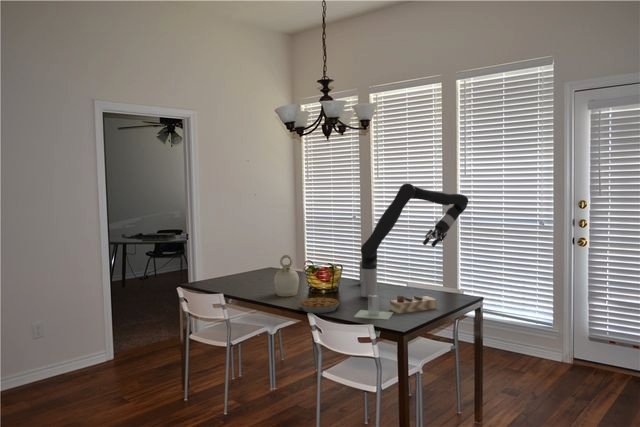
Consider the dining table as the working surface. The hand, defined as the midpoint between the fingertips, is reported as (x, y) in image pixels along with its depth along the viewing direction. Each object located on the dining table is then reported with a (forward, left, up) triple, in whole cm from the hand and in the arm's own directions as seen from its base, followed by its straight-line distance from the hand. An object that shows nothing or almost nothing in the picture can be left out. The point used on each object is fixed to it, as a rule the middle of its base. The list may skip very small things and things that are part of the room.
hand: (428, 245), depth 285 cm
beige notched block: (-6, -14, -33) cm, 37 cm away
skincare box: (-46, +45, -34) cm, 73 cm away
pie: (-56, -26, -34) cm, 71 cm away
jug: (-87, +2, -34) cm, 94 cm away
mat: (-24, -32, -33) cm, 52 cm away
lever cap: (-25, -32, -33) cm, 52 cm away
